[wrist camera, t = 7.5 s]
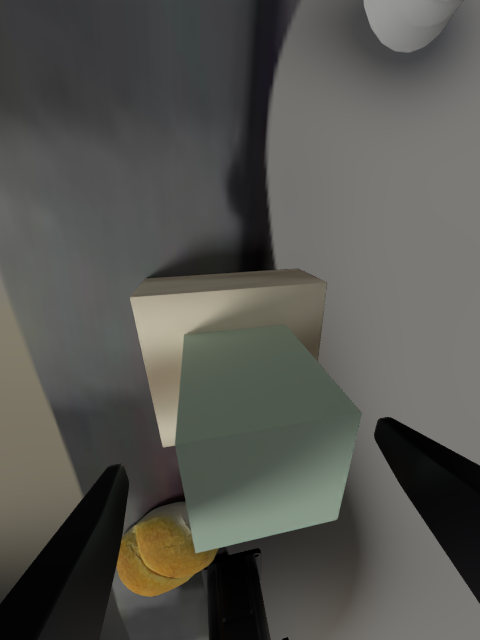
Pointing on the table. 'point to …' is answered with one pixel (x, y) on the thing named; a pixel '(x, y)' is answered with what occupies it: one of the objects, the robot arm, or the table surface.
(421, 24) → the chalice
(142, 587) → the bread roll
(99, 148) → the table surface
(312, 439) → the green block
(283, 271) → the birch base
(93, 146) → the table surface
